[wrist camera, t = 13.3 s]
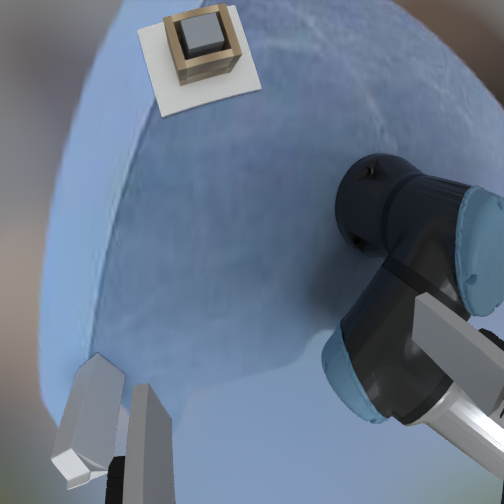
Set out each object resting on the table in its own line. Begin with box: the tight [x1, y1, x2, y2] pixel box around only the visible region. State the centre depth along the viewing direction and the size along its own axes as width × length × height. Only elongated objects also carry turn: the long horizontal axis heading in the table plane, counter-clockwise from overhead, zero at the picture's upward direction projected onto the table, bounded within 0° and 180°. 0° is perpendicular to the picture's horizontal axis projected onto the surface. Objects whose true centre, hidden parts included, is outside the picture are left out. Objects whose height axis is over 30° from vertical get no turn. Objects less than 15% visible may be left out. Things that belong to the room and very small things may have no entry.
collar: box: [163, 3, 242, 86], centre depth 26 cm, size 6×6×8 cm
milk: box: [51, 353, 125, 490], centre depth 33 cm, size 6×6×22 cm
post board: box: [137, 5, 262, 118], centre depth 26 cm, size 12×12×10 cm
